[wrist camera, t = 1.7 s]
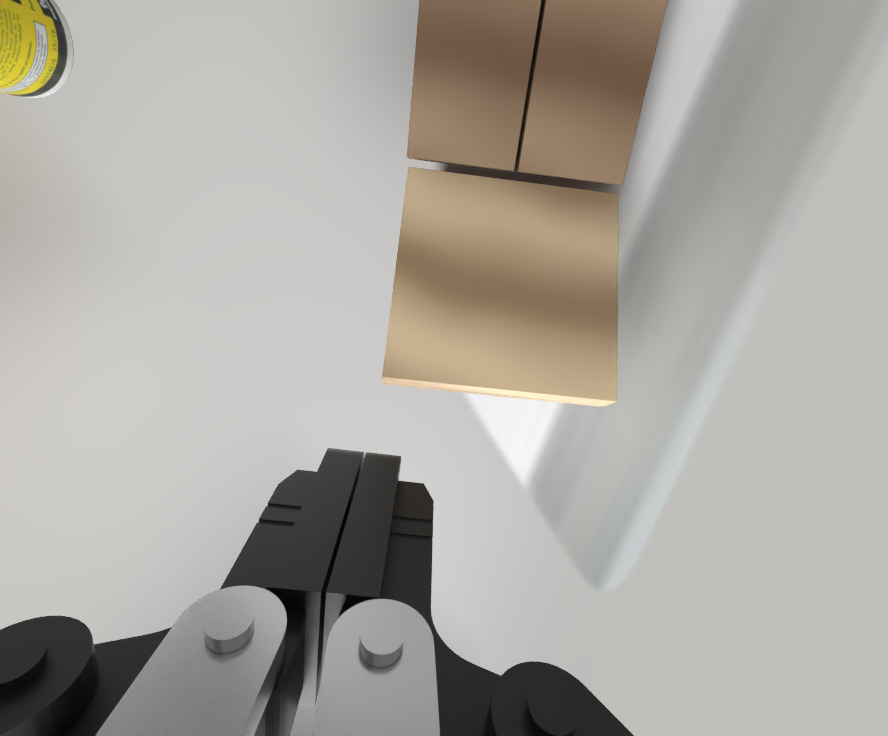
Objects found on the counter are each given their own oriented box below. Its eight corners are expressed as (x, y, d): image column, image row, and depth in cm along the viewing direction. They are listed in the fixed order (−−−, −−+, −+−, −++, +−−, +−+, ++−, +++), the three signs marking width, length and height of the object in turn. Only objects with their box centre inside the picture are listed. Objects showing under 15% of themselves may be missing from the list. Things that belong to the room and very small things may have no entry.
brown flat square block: (431, -112, 18) (430, -138, 17) (671, -73, 19) (691, -95, 17) (408, 158, 22) (406, 156, 20) (610, 184, 22) (622, 185, 21)
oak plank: (408, 187, 22) (408, 166, 20) (604, 212, 22) (618, 193, 21) (384, 384, 20) (382, 376, 18) (602, 406, 20) (617, 401, 19)
